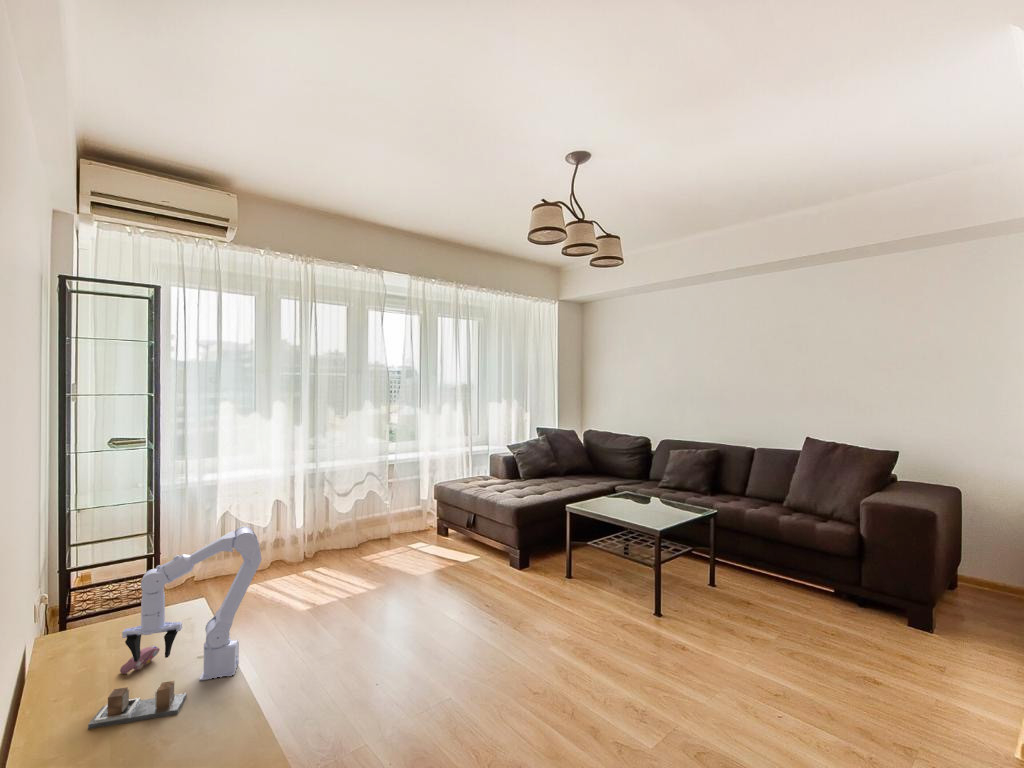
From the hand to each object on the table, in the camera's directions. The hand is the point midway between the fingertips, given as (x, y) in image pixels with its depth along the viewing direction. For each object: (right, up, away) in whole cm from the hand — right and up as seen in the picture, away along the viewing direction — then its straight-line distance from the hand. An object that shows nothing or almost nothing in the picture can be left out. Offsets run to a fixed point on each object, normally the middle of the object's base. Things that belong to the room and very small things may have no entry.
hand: (152, 658), depth 148 cm
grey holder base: (+5, -9, -11) cm, 15 cm away
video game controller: (-12, -10, +12) cm, 19 cm away
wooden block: (0, -7, -13) cm, 15 cm away
